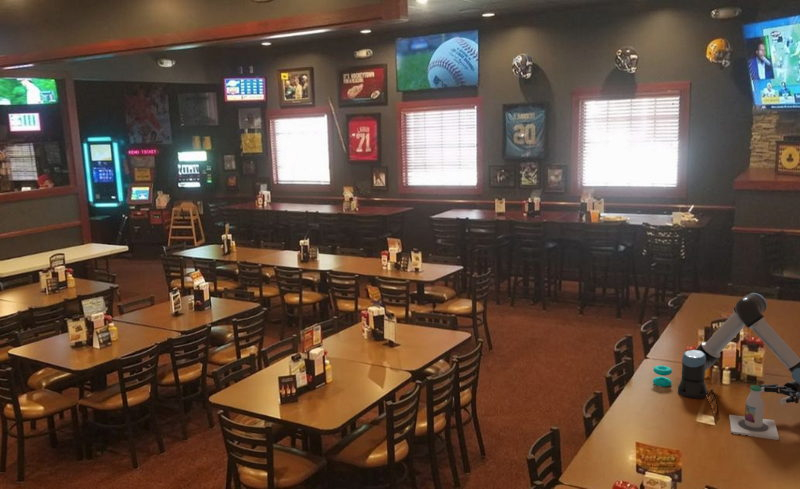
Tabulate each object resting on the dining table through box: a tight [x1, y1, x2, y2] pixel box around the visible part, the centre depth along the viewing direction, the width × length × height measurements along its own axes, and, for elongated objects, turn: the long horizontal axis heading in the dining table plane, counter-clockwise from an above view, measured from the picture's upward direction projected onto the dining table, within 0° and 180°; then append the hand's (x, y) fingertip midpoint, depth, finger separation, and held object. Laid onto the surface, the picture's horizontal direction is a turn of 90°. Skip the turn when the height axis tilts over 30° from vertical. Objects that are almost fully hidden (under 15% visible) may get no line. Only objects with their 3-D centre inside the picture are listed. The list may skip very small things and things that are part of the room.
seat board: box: [728, 414, 780, 441], centre depth 322 cm, size 20×20×1 cm
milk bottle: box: [744, 384, 765, 428], centre depth 320 cm, size 8×8×20 cm
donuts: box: [652, 365, 673, 388], centre depth 379 cm, size 10×10×10 cm
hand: (767, 397), depth 324 cm, fingers open, 13 cm apart
